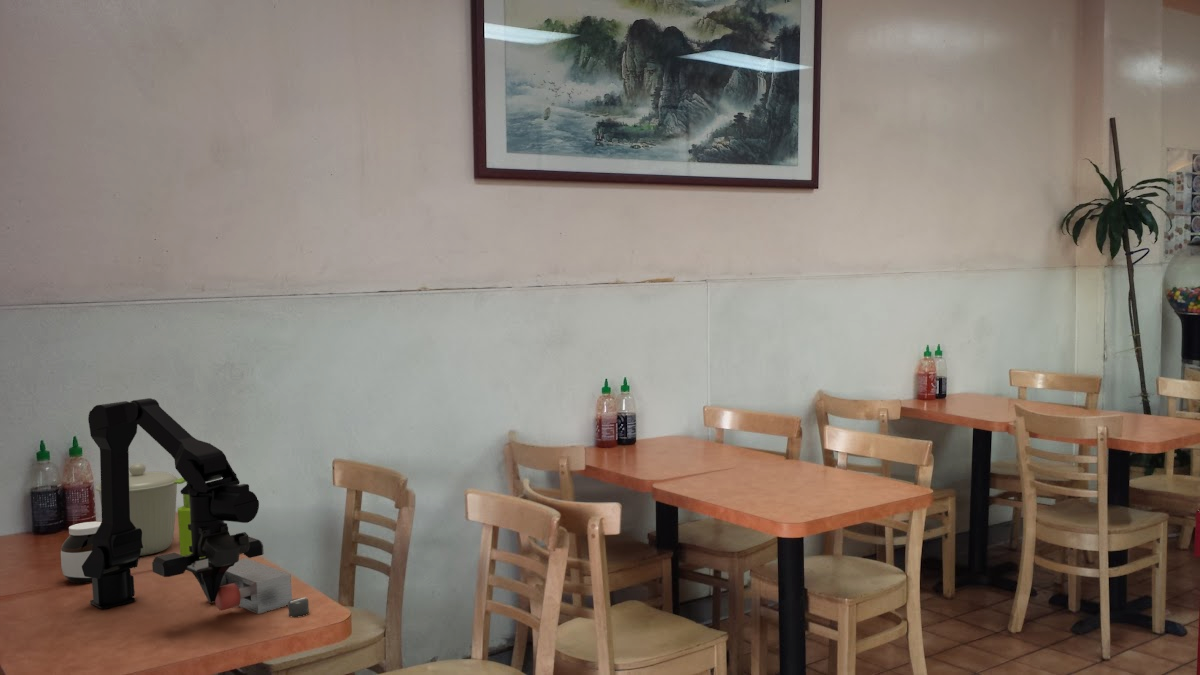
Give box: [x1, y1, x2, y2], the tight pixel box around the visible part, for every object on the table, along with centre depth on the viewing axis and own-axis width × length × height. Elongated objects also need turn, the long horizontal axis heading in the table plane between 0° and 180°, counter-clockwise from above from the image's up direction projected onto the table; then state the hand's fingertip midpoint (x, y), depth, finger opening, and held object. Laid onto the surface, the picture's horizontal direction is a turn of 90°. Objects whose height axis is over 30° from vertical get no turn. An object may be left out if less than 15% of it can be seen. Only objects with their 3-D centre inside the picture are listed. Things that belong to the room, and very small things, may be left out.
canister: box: [95, 462, 181, 557], centre depth 235 cm, size 18×18×21 cm
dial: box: [287, 596, 310, 618], centre depth 186 cm, size 4×4×3 cm
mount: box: [224, 557, 293, 615], centre depth 195 cm, size 7×18×6 cm, turn 46°
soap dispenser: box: [174, 477, 206, 558], centre depth 221 cm, size 6×7×20 cm
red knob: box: [214, 583, 251, 612], centre depth 190 cm, size 12×4×4 cm, turn 136°
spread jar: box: [60, 521, 102, 584], centre depth 216 cm, size 12×11×12 cm
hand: (211, 601), depth 184 cm, fingers closed
